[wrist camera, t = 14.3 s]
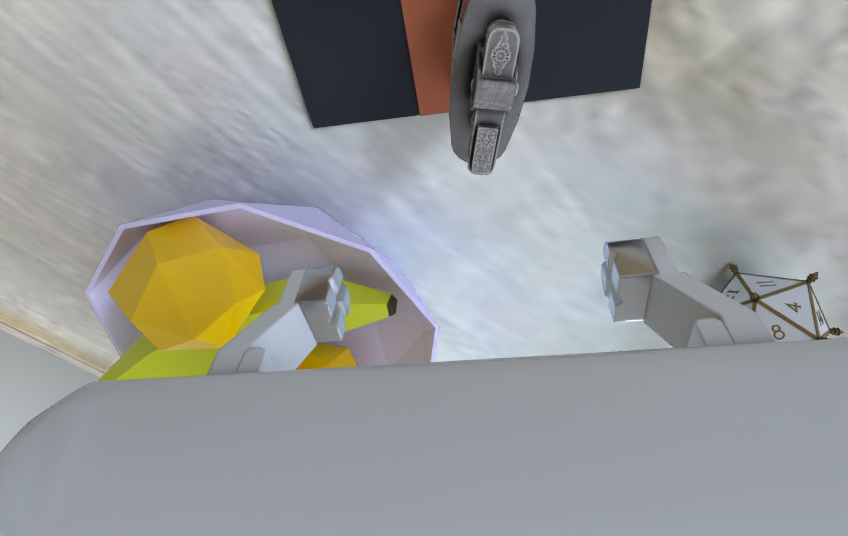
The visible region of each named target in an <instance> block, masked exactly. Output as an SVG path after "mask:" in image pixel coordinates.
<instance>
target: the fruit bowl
mask: <svg viewBox="0 0 848 536" xmlns="http://www.w3.org/2000/svg"><path fill="white" fill-rule="evenodd" d="M324 267H339V268H340V269H341V272H342V274H343V278H342V283H343V284H345V285H346V286H347V288H348V290H349V294H350V311H349V314H348V315H347V316H346V317H345V318H344V320H345V323H346V328H345V332H344V336H343V340H340V341H330V342H319V343H317V345H316V346H315V347H314V349H313V350H312V351H311V352H310V353H309V354H308V355H307V357H306V358H305V359H304V360H303V361H302V362H301V364H300V365H299V366H298V367H297V368H296V369H295V370H305V369H323V368H340V367H358V366H375V365H393V364H410V363H427V362H435V356H436V349H437V343H438V336H439V329H440V326H439V325H438V323H437V322H436V320H435V319H434V317H433V316H432V314H431V313H430V311H429V310H428V308H427V307H426V305H425V304H424V302H423V301H422V299H421V298H420V296H419V295H418V293H417V292H416V290H415V289H414V287H413V286H412V284H411V283H410V281H409V280H408V278H407V277H406V275H405V274H404V272H403V271H402V269H401V268H400V266H399V265H398V263H397V262H395V261H394V260H392V259H391V258H389V257H388V256H387V255H385V254H384V253H382V252H381V251H379V250H378V249H376V248H375V247H373V246H372V245H370V244H369V243H367V242H366V241H365V240H363V239H362V238H360V237H359V236H357V235H356V234H354V233H353V232H351V231H350V230H348V229H347V228H345V227H344V226H343V225H341V224H340V223H338V222H337V221H335V220H334V219H332V218H331V217H329V216H328V215H326V214H325V213H323V212H322V211H321V210H319V209H318V208H316V207H305V206H292V205H279V204H266V203H253V202H240V201H227V200H214V199H211V200H207V201H204V202H200V203H196V204H193V205H189V206H186V207H182V208H178V209H175V210H171V211H168V212H164V213H161V214H157V215H153V216H150V217H146V218H143V219H139V220H135V221H132V222H128V223H125V224H121V225H119V227H118V229H117V231H116V233H115V235H114V237H113V239H112V241H111V243H110V244H109V246H108V248H107V250H106V252H105V254H104V256H103V258H102V260H101V262H100V264H99V266H98V267H97V269H96V271H95V273H94V275H93V277H92V279H91V281H90V283H89V285H88V287H87V289H86V290H85V292H84V294H85V295H86V297H87V299H88V301H89V302H90V304H91V306H92V308H93V309H94V311H95V313H96V315H97V316H98V318H99V320H100V322H101V324H102V325H103V327H104V329H105V331H106V332H107V334H108V336H109V338H110V339H111V341H112V343H113V345H114V346H115V348H116V350H117V352H118V353H119V355H120V357H121V358H120V359H119V360H118V361H117V362H116V363H115V364H114V365H113V366H112V367H111V368H110V369H109V370H108V371H107V372H106V373H105V374H104V375H103V376H102V377H101V378H100V380H98V381H109V380H131V379H149V378H166V377H183V376H201V375H207V373H208V371H209V369H210V367H211V365H212V363H213V360H214V358H215V356H216V354H217V352H218V350H219V349H220V348H221V347H222V346H224V345H225V344H226V343H227V342H228V341H230V340H231V339H232V338H233V337H235V336H236V335H237V334H238V333H240V332H241V331H242V330H243V329H245V328H246V327H247V326H248V325H250V324H251V323H252V322H253V321H254V320H256V319H257V318H258V317H259V316H261V315H262V314H263V313H264V312H266V311H267V310H268V309H269V308H271V307H272V306H273V305H278V303H279V300H280V298H281V295H282V293H283V291H284V288H285V286H286V283H287V281H288V278H289V276H290V273H291V272H292V271H293V270H298V269H309V268H324Z"/></svg>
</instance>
